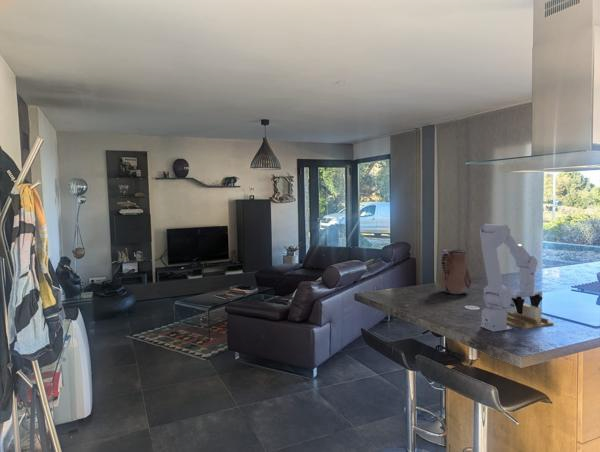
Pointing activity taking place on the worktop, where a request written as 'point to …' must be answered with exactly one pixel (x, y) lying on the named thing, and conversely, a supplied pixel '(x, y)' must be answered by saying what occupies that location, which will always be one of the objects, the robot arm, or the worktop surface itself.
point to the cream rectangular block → (530, 312)
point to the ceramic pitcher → (454, 272)
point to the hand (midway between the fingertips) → (526, 312)
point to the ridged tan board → (525, 321)
